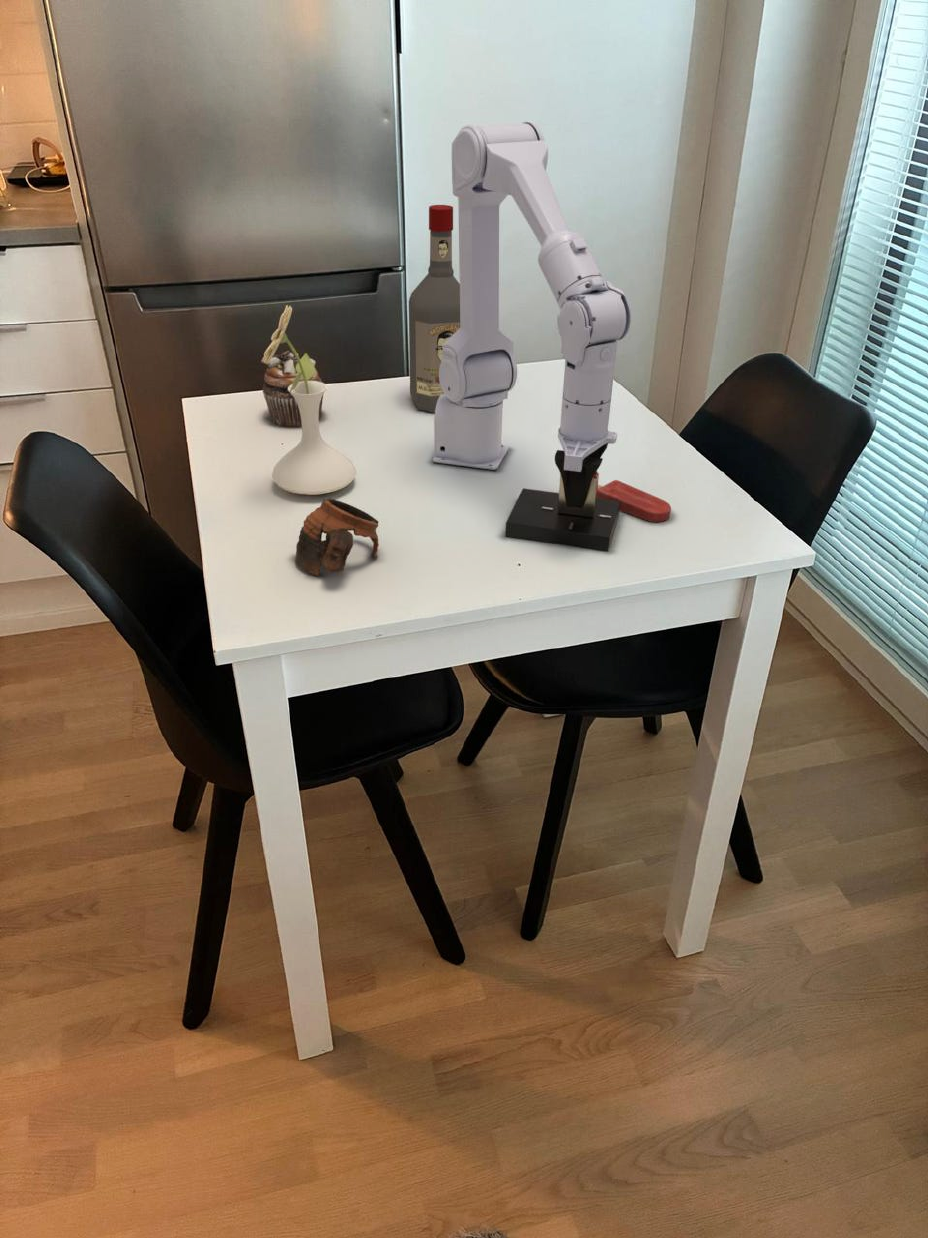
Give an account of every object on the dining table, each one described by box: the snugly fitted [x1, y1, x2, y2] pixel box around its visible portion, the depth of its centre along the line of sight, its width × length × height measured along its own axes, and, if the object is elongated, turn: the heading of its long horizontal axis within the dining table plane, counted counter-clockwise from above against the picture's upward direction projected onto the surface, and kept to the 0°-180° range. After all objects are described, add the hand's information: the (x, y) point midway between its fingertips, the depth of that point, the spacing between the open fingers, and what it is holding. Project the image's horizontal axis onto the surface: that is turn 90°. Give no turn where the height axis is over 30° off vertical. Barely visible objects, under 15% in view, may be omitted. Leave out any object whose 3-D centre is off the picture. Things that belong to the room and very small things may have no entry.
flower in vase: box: [261, 304, 357, 496], centre depth 123 cm, size 13×11×25 cm
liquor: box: [408, 204, 460, 414], centre depth 148 cm, size 9×9×30 cm
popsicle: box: [597, 479, 672, 523], centre depth 127 cm, size 4×2×15 cm
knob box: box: [504, 487, 620, 552], centre depth 121 cm, size 13×10×2 cm
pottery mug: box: [294, 497, 380, 577], centre depth 112 cm, size 12×10×8 cm
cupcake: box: [261, 349, 324, 428], centre depth 147 cm, size 10×10×10 cm
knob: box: [557, 470, 600, 518], centre depth 119 cm, size 5×2×6 cm, turn 75°
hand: (577, 500), depth 119 cm, fingers open, 3 cm apart
